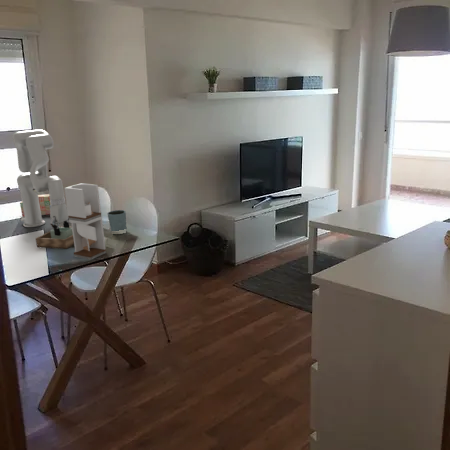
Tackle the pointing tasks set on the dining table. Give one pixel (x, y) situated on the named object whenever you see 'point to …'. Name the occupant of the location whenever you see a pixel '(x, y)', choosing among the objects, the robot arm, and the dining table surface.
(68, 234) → the sage crate
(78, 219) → the white tiered tower
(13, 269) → the dining table surface
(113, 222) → the blue grey cup
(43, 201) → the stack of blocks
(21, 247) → the dining table surface
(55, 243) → the oak crate
